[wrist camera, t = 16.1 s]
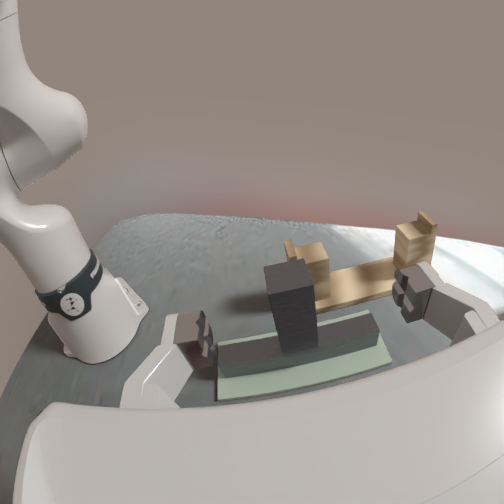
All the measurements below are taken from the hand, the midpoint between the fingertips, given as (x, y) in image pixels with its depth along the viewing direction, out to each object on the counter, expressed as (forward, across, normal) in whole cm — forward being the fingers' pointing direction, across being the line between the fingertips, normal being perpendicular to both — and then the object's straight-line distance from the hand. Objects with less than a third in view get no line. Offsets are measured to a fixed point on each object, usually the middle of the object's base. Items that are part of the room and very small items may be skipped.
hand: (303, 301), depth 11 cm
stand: (+22, -12, +22) cm, 33 cm away
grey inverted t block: (+12, 0, +22) cm, 24 cm away
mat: (+12, -1, +22) cm, 25 cm away
